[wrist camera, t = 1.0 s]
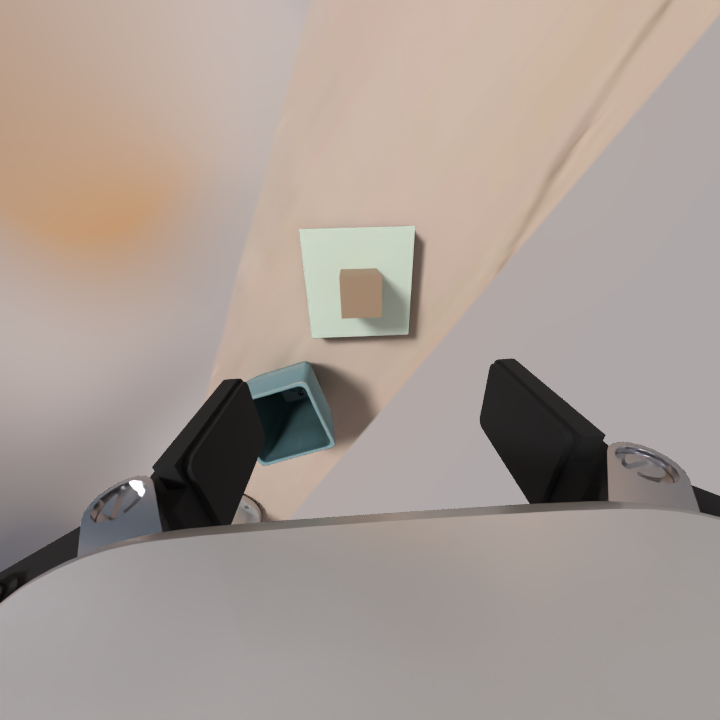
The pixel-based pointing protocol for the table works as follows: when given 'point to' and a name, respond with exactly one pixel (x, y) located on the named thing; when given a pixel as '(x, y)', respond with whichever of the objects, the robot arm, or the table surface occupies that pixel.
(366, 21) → the table surface
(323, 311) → the lid
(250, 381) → the flower pot
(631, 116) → the table surface
